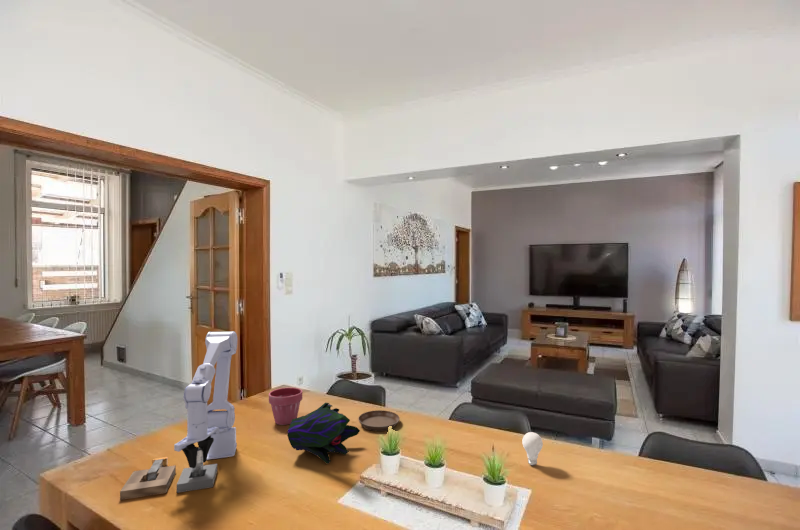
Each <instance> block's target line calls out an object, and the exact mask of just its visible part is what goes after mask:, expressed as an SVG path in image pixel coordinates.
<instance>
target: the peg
mask: <svg viewBox="0 0 800 530" xmlns="http://www.w3.org/2000/svg"><path fill="white" fill-rule="evenodd" d="M203 466H204V463H203V447H199V448H198V451H197V456H196V467H195V468H192V477H199V476H201V475H203Z"/></svg>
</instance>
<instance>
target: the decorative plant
mask: <svg viewBox="0 0 800 530" xmlns="http://www.w3.org/2000/svg"><path fill="white" fill-rule="evenodd" d="M332 407H333V405H332V404H330V402H324V403H323V404H322V405H320V406H319V407H318V408H317V409H315V410H313V411H311V412H309V413H306V415H302V416H299V417H298V416H297V418H295V419H292V421H291V424H289V426H288V428H287V440H288V442H289V444H290V446H291V447H292V449H293V450H295V451H306V452H309V453H311V454H313V455H315V456H317V457H318V458H319V459H321V460H322V462H324V463H325V464H326V465H328V464H330V463H331V461H332V460H331V459H330V455H329V453H336V454H341V455H345V456H346V455H347V454H348V453H349V452H350V451H349V450H348V449H347V447H346V445H344V444H343V443H344V442H345V441H347V440H348V439H349V438H353V437H356V436H357V435H358V434H359V433H360V431H361V430H360V429H359V428H358V427H357V426H354V425H349V424H348V423H350V421H351V419H350V418H348V417H347V416H346V415H345V414H343V413H339V411H340V408H337V407H335V408H333V409H331V408H332Z"/></svg>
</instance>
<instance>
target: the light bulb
mask: <svg viewBox="0 0 800 530" xmlns="http://www.w3.org/2000/svg"><path fill="white" fill-rule="evenodd" d="M521 443H522V447H523V448H524V450H525V452H526V457H527V463H528V464H529V465H530V466H537V464H538V460H537V459H538V458H539V453H540V452H541V451H542V449H543V445H544V444H543V443H544V442H543V439H542V437H541V436H540V435H539V434H538V433H536V432H533V431H529V432H527V433H525V434H524V435H523V436H522V441H521Z"/></svg>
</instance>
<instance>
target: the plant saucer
mask: <svg viewBox="0 0 800 530" xmlns="http://www.w3.org/2000/svg"><path fill="white" fill-rule="evenodd" d="M400 418H401V417H400V416H399V415H398V414H397V413H395V412H392V411H390V410H389V411H388V410H381V409H379V410H376V409H375V410H370V411H366V412H363V413H362V414H360V415H359V416H358V418H357V419H358V422H359V423H360V425H361V426H362V427H363V428H365V430H368V431H374V432H383V431H388V430H387V429H388V427H389V426H392V427H393V428H394V427H396V425H397V424H398V423H399V422H400Z"/></svg>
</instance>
